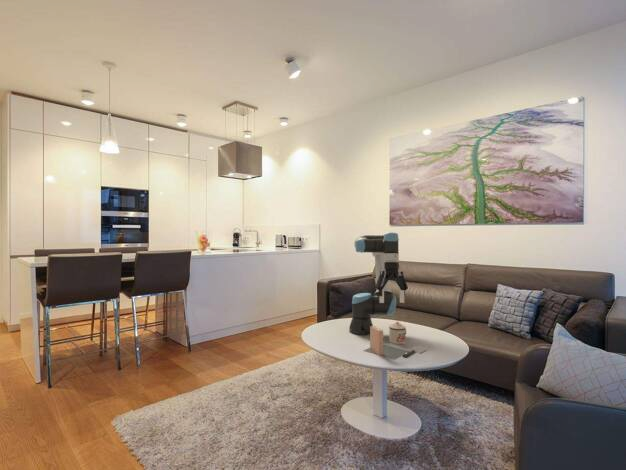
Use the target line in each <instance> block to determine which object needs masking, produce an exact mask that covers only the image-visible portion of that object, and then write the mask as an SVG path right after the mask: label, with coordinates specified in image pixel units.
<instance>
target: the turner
mask: <svg viewBox="0 0 626 470" xmlns="http://www.w3.org/2000/svg"><path fill="white" fill-rule="evenodd" d="M427 350H428V348H423V347H421V346H414V347H413V348H412V349H411V350H409V352H408V353H406V354H404V355H402V358H405V359H406V358H408V357H410V356H412V355H413V354H415V353H418V354H423V353H424V352H426V351H427Z"/></svg>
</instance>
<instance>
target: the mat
mask: <svg viewBox="0 0 626 470" xmlns="http://www.w3.org/2000/svg"><path fill="white" fill-rule="evenodd" d="M363 352H366V353H369V354H373V355H377V354H376V353H375V352H373V351H372V350H370V347H368V348H366V349H364V350H363ZM408 352H410V350H407V349H403V348H399V347H395V346H392V345H391V346H390V345H387V344H384V343H383V355H379V356H380V357H384V358H388V359H391V360H396V359H398V358H401V357H403V355H404V354H406V353H408ZM377 356H378V355H377Z"/></svg>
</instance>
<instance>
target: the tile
mask: <svg viewBox="0 0 626 470" xmlns="http://www.w3.org/2000/svg"><path fill="white" fill-rule="evenodd" d="M383 344H384V330H382V329H381V328H379V327H377V326H375V325H373V326H370V334H369V348H370V350H372V351H373V352H375V353H376V354H377V356H380V355H383ZM376 354H375V355H376Z"/></svg>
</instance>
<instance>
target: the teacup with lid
mask: <svg viewBox="0 0 626 470" xmlns="http://www.w3.org/2000/svg"><path fill="white" fill-rule="evenodd" d="M388 328H389V335H388V340H389V343H391V344H394V345H405V344H406V335H407V329H406V326H405V325H404V324H401V323H400V322H399V321H395V323H392V324H389V326H388Z"/></svg>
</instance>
